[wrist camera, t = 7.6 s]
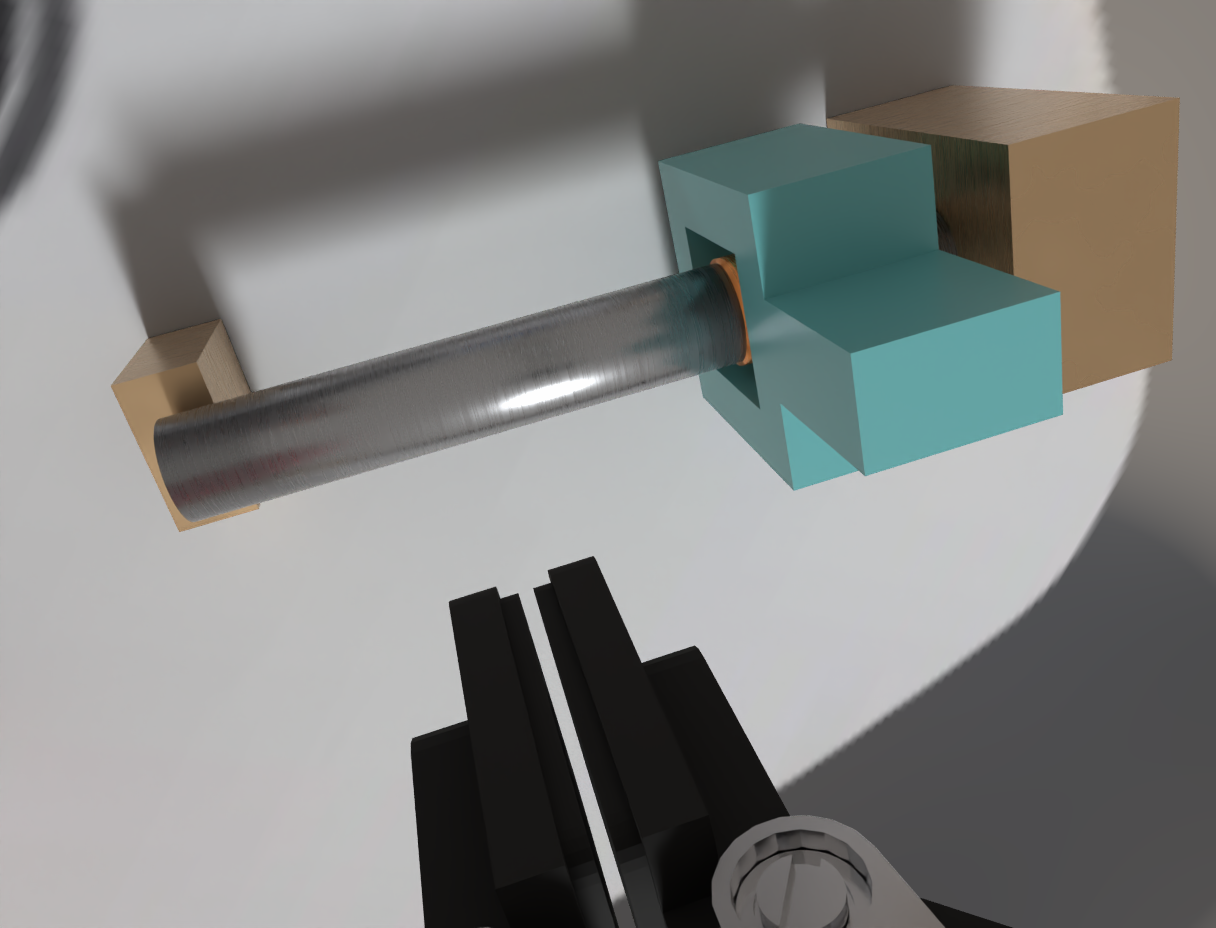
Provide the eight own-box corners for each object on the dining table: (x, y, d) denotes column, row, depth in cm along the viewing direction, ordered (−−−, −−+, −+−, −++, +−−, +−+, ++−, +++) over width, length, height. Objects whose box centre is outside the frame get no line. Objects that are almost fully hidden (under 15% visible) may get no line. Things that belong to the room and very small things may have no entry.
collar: (703, 396, 29) (876, 576, 19) (657, 161, 26) (835, 227, 16) (830, 359, 29) (1065, 516, 19) (799, 123, 26) (1057, 165, 16)
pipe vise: (218, 497, 29) (158, 672, 21) (132, 303, 26) (25, 415, 18) (964, 280, 31) (1171, 360, 23) (952, 85, 29) (1179, 97, 21)
